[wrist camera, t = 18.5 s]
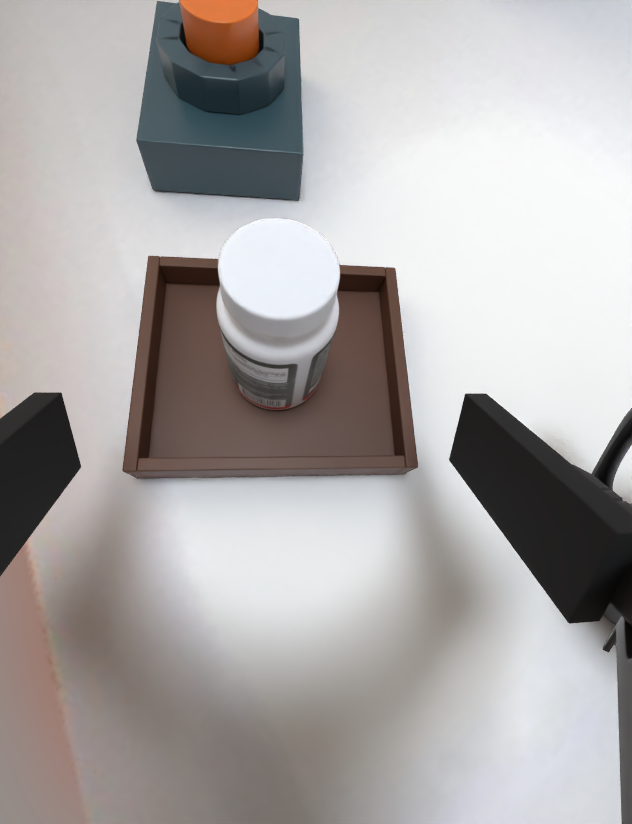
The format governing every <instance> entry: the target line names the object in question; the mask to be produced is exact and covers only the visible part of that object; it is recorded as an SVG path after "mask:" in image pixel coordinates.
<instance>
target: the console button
mask: <svg viewBox="0 0 632 824" xmlns="http://www.w3.org/2000/svg"><path fill="white" fill-rule="evenodd" d="M179 2H180V8H181V14H182V20H183V26H184V32H185V38H186V44H187V47H188V49H189V51H190V53H191V54H193V55H195V56H197V57H199V58H201V59H203V60H205V61H207V62H209V63H216V64H225V65H234V64H237V63H241V62H245V61H248V60H252V59H254V57H255V56H256V55H257V54H258V51H259V23H258V0H179Z"/></svg>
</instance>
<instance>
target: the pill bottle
mask: <svg viewBox="0 0 632 824" xmlns="http://www.w3.org/2000/svg"><path fill="white" fill-rule="evenodd" d="M218 275H219V281H220V288H219V291H218V295H217V303H216V309H217V318H218V323H219V327H220V331H221V335H222V339H223V344H224V348H225V351H226V356H227V360H228V364H229V368H230V372H231V375H232V379H233V381H234V384H235V386H236V388H237V389H238V391H239V392H240V393H241V395H242V396H243V397H245V398H246V399H247V400H248V401H249V402H251V403H253V404H255V405H256V406H259V407H261V408H264V409H269V410H283V409H289V408H292V407H295V406H297V405H299V404H301V403H303V402H304V401H306V400H307V399H308V398H309V397H310V396H311V395H312V394H313V392H314V391H315V390H316V388H317V386H318V384H319V382H320V379H321V375H322V372H323V369H324V366H325V363H326V360H327V356H328V353H329V350H330V347H331V344H332V340H333V337H334V334H335V331H336V328H337V323H338V317H339V303H338V298H337V290H338V285H339V280H340V266H339V262H338V258H337V255H336V253H335V251H334V249H333V248H332V246H331V245H330V243H329V242H328V241H327V240H326V239H325V238H324V237H323V236H322V235H321V234H320V233H318V232H317V231H316V230H314V229H312V228H311V227H309V226H307V225H305V224H303V223H300V222H297V221H294V220H290V219H284V218H266V219H261V220H256V221H253V222H250V223H248V224H246V225H244V226H242V227H240V228H239V229H237V230H236V231H235V232H234V233H233V234H232V235H231V236H230V237H229V238H228V239H227V241H226V242H225V243H224V245H223V247H222V249H221V252H220V255H219V259H218Z"/></svg>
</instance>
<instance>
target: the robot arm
mask: <svg viewBox="0 0 632 824" xmlns="http://www.w3.org/2000/svg"><path fill="white" fill-rule="evenodd" d="M449 460H450V462H451V463H452V464H453V466H454V467H455V469H456V470H457V471H458V473H459V474H460V475H461V477H462V478H463V480H464V481H465V482H466V484H467V485H468V486H469V488H470V489H471V490H472V492H473V493H474V495H475V496H476V497H477V499H478V500H479V501H480V503H481V504H482V505H483V507H484V508H485V510H486V511H487V512H488V514H489V515H490V516H491V518H492V519H493V520H494V522H495V523H496V525H497V526H498V527H499V529H500V530H501V531H502V533H503V534H504V536H505V537H506V538H507V540H508V541H509V542H510V544H511V545H512V546H513V548H514V549H515V551H516V552H517V553H518V555H519V556H520V557H521V559H522V560H523V561H524V563H525V564H526V566H527V567H528V568H529V570H530V571H531V572H532V574H533V575H534V576H535V578H536V579H537V581H538V582H539V583H540V585H541V586H542V587H543V589H544V590H545V591H546V593H547V594H548V596H549V597H550V598H551V600H552V601H553V602H554V604H555V605H556V607H557V608H558V609H559V611H560V612H561V613H562V615H563V616H564V617H565V619H566V620H567V622H568V623H580V622H594V621H600V619H601V617H602V615H603V614H604V612H605V610H606V609H607V607H608V605H609V604H610V603H611V604H612V605H613V606H614V607H615V609H616V610H617V611H618V612H619V613H620V614H621V615H622V616H621V618H620V619H619V621H618V623H617V624H616V626H615V627H614V629H613V631H612V632H611V634H610V636H609V637H608V639H607V640H606V642H605V644H604V647H603V650H605V651H607V652H609V651H610V649H611V648H612V646H613V645H616V648H617V681H618V714H619V748H620V781H621V814H622V824H632V506H631V505H630V504H628V503H627V502H626V501H622V498H621V497H620V496H618V495H617V494H616V493H615V492H613V491H610V490H609V488H608V487H607V486H606V485H605V484H604V483H602V482H601V481H600V480H599V479H597V478H596V477H595V476H594V475H592V474H590V473H588V472H586V471H584V470H582V469H580V468H579V467H577V466H575V465H572V464H570V463H569V462H568V461H567V460H565V459H564V458H563V457H562V456H561V455H559V454H558V453H557V452H556V451H555V450H553V449H552V448H551V447H550V446H549V445H547V444H546V443H545V442H544V441H543V440H541V439H540V438H539V437H538V436H537V435H535V434H534V433H533V432H532V431H531V430H529V429H528V428H527V427H526V426H524V425H523V424H522V423H521V422H520V421H518V420H517V419H516V418H515V417H514V416H512V415H511V414H510V413H509V412H508V411H506V410H505V409H504V408H503V407H502V406H500V405H499V404H498V403H497V402H496V401H494V400H493V399H492V398H491V397H489V396H488V395H487V394H465V398H464V402H463V406H462V410H461V414H460V418H459V422H458V426H457V430H456V434H455V438H454V442H453V446H452V450H451V454H450V458H449ZM80 468H81V464H80V461H79V457H78V453H77V449H76V446H75V442H74V438H73V434H72V431H71V427H70V423H69V420H68V416H67V412H66V408H65V405H64V401H63V397H62V393H33V394H32V395H31V396H29V397H28V398H27V399H25V400H24V401H23V402H22V403H20V404H19V405H18V406H16V407H15V408H14V409H12V410H11V411H10V412H8V413H7V414H6V415H5V416H3V417H2V418H1V419H0V576H1V575H2V573H3V572H4V571H5V569H6V568H7V567H8V565H9V564H10V562H11V561H12V560H13V558H14V557H15V556H16V554H17V553H18V551H19V550H20V549H21V548H22V546H23V545H24V544H25V542H26V541H27V539H28V538H29V537H30V535H31V534H32V533H33V531H34V530H35V529H36V527H37V526H38V525H39V523H40V522H41V521H42V519H43V518H44V516H45V515H46V514H47V512H48V511H49V510H50V508H51V507H52V506H53V504H54V503H55V502H56V500H57V499H58V498H59V496H60V495H61V494H62V492H63V491H64V489H65V488H66V487H67V485H68V484H69V483H70V481H71V480H72V479H73V477H74V476H75V475H76V473H77V472H78V471H79V469H80Z"/></svg>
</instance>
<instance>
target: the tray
mask: <svg viewBox="0 0 632 824" xmlns="http://www.w3.org/2000/svg"><path fill="white" fill-rule="evenodd" d="M339 266H340V280H339V285H338V290H337V298H338V303H339V317H338V323H337V328H336V331H335V334H334V337H333V340H332V344H331V347H330V350H329V353H328V356H327V360H326V363H325V366H324V369H323V372H322V375H321V379H320V382H319V384H318V386H317V388H316V390H315V391H314V392H313V394H312V395H311V396H310V397H309V398H308V399H307V400H306V401H304V402H303V403H301V404H299V405H297V406H295V407H292V408H289V409H283V410H269V409H264V408H261V407H259V406H256V405H255V404H253V403H251V402H249V401H248V400H247V399H246V398H245V397H243V396H242V395H241V393H240V392H239V391H238V389H237V388H236V386H235V384H234V381H233V379H232V375H231V372H230V368H229V364H228V360H227V356H226V351H225V348H224V344H223V339H222V335H221V331H220V327H219V323H218V318H217V309H216V303H217V295H218V291H219V288H220V281H219V275H218V259H203V258H182V257H159V256H148V263H147V272H146V280H145V288H144V297H143V305H142V313H141V321H140V330H139V338H138V346H137V355H136V363H135V371H134V379H133V388H132V396H131V404H130V412H129V421H128V429H127V437H126V446H125V454H124V462H123V472H125V473H127V474H130V475H132V476H134V477H136V478H194V477H256V476H318V475H380V474H405V473H407V472H409V471H411V470H413V469H415V468H417V467H418V462H417V454H416V445H415V436H414V427H413V419H412V410H411V401H410V393H409V384H408V375H407V367H406V358H405V349H404V341H403V332H402V323H401V315H400V306H399V297H398V288H397V280H396V271H395V268H388V267H386V268H384V267H367V266H347V265H339Z"/></svg>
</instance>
